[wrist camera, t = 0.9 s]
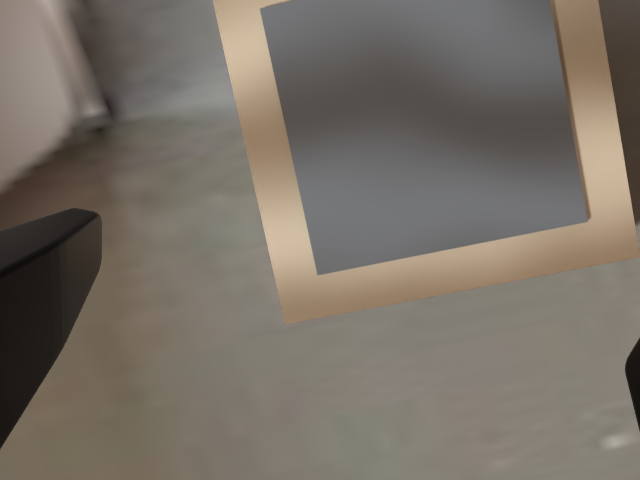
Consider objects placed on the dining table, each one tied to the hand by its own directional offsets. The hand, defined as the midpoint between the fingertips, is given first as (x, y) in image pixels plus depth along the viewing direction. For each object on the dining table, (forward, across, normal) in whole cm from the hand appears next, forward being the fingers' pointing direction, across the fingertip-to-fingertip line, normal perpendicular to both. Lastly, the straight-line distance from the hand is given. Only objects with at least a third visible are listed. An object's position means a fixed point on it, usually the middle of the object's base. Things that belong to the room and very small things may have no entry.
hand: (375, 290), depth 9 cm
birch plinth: (+14, -2, +1) cm, 14 cm away
